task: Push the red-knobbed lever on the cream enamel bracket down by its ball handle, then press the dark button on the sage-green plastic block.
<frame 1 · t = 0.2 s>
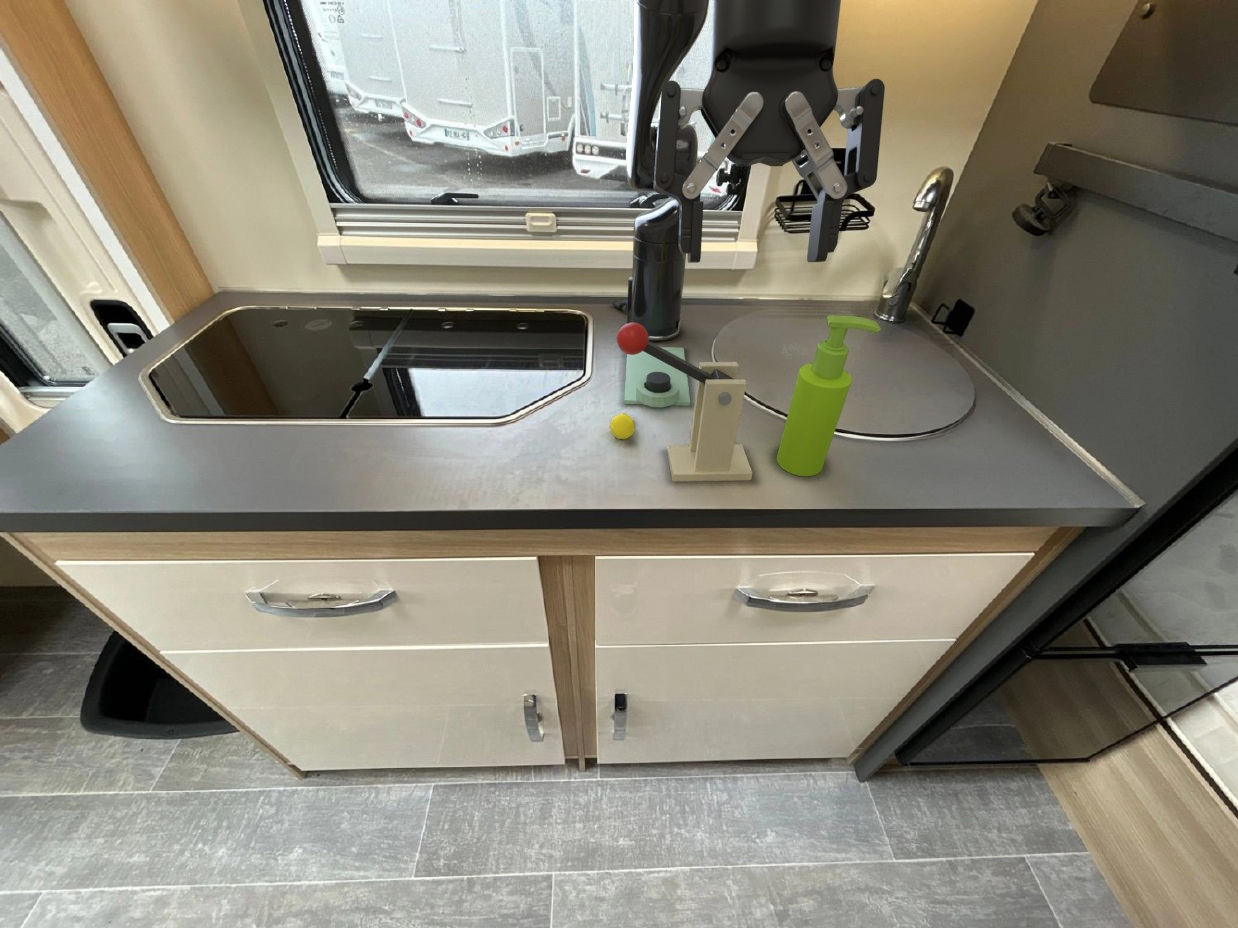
hand: (754, 262, 37), 31 cm above the worktop, tool tilted 20°, fingers open, 8 cm apart
yellow rounded piece: (623, 432, 74), on the worktop
lever: (676, 362, 59), point 15 cm above the worktop, hinge at 30.0°
button block: (656, 375, 87), on the worktop
button: (658, 382, 79), point 3 cm above the worktop, slide at 0.2 cm
soap dispenser: (803, 463, 69), on the worktop
bracket: (707, 466, 68), on the worktop
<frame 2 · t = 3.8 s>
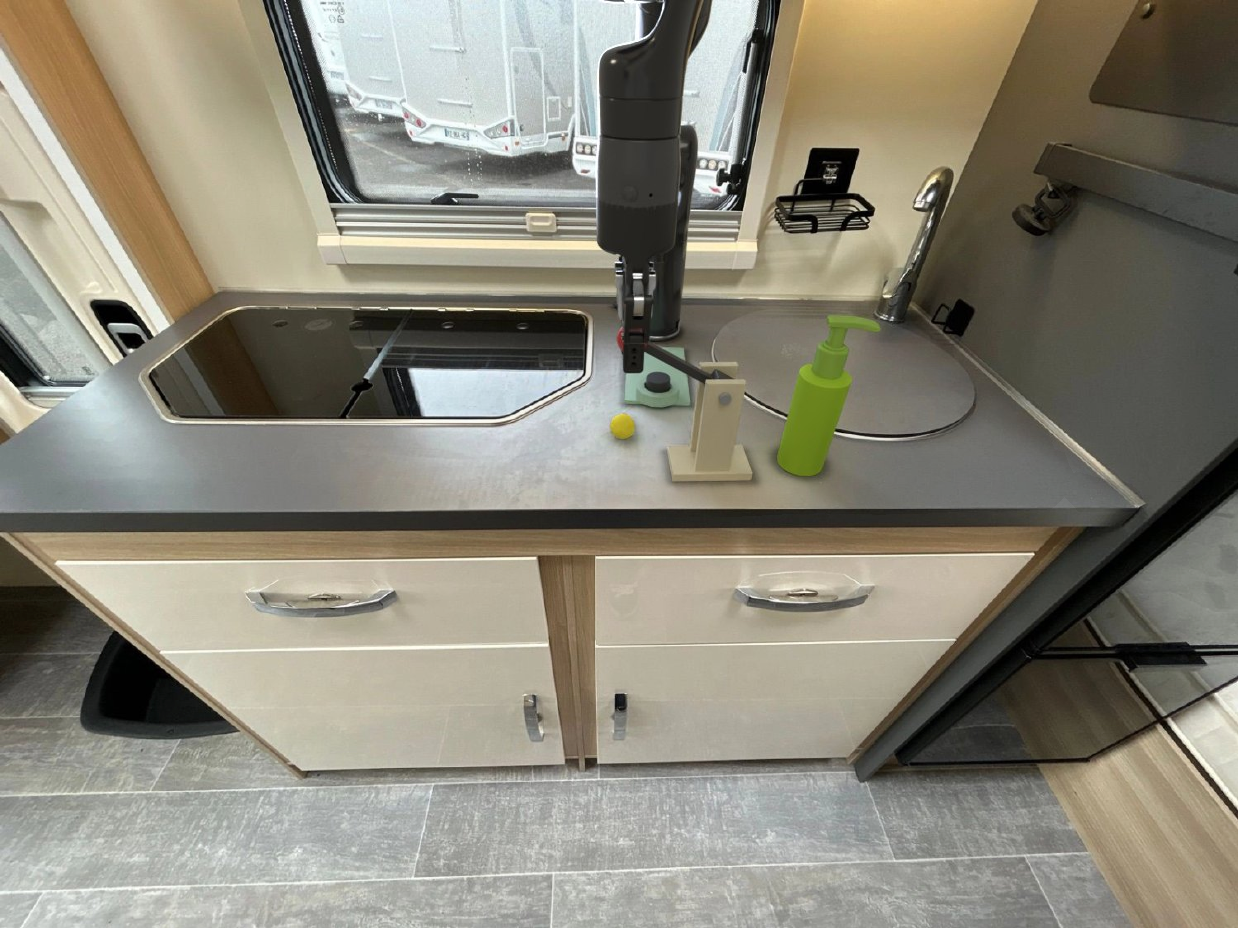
hand: (631, 362, 58), 15 cm above the worktop, tool pointing down, fingers closed on lever, 3 cm apart
lever: (676, 362, 59), point 15 cm above the worktop, hinge at 29.9°, touching gripper
everything else where it was.
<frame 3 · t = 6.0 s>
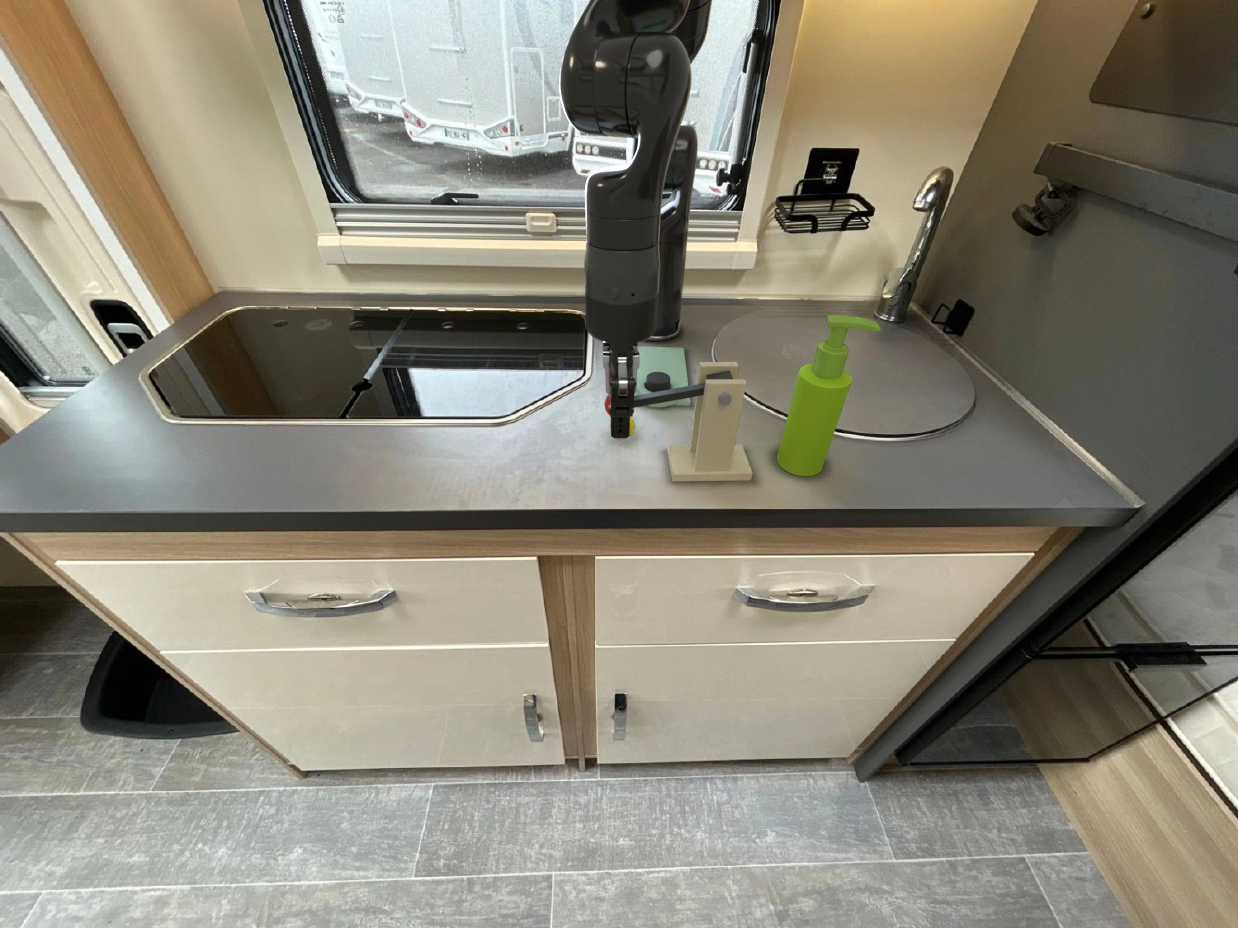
hand: (619, 426, 64), 7 cm above the worktop, tool pointing down, fingers closed on lever, 3 cm apart
lever: (667, 395, 61), point 11 cm above the worktop, hinge at -11.4°, touching gripper
everything else where it was.
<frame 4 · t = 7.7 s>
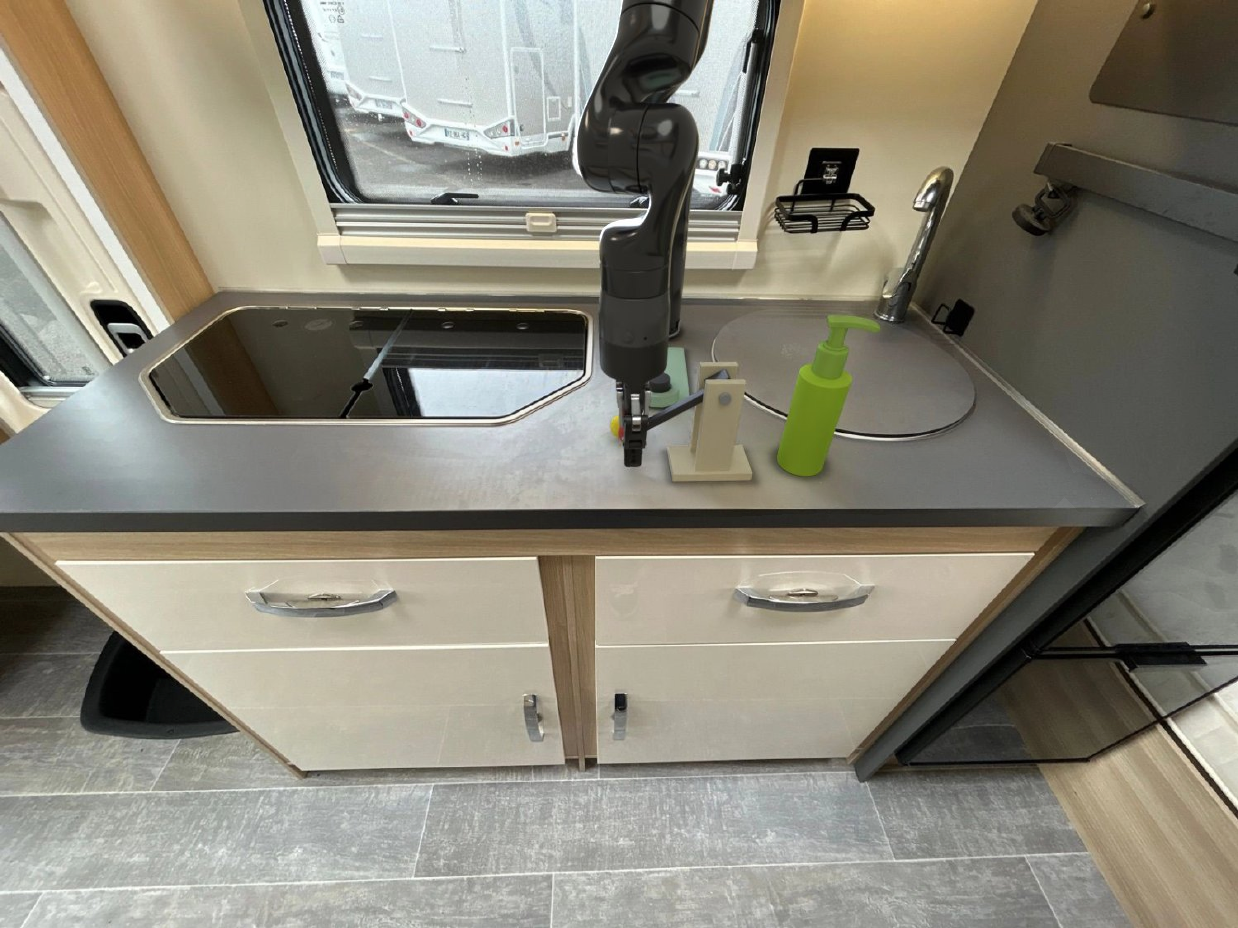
hand: (631, 454, 67), 2 cm above the worktop, tool pointing down, fingers closed on lever, 3 cm apart
lever: (673, 410, 63), point 9 cm above the worktop, hinge at -32.7°, touching gripper
everything else where it was.
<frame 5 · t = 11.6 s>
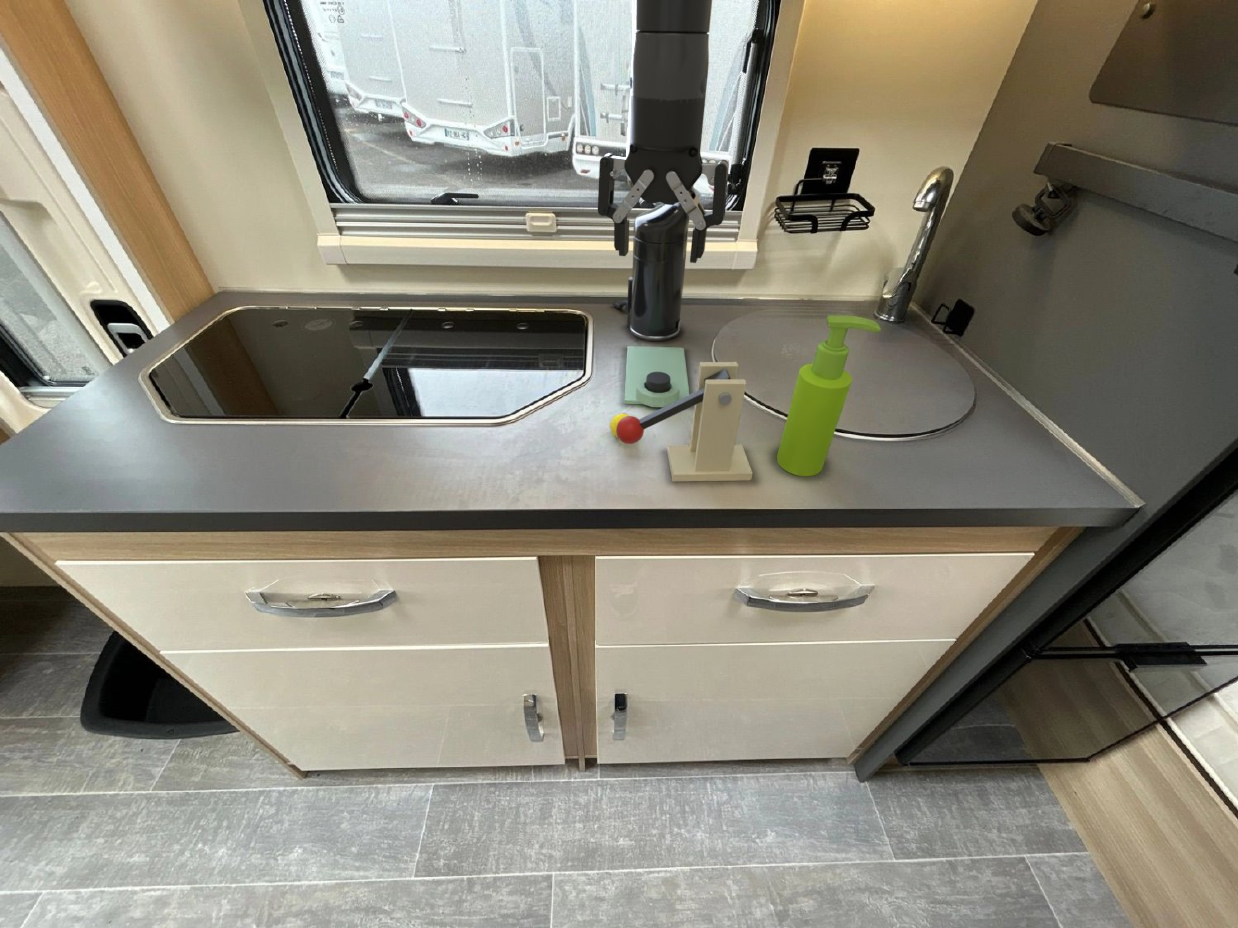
hand: (658, 257, 63), 23 cm above the worktop, tool pointing down, fingers open, 8 cm apart
lever: (672, 409, 62), point 9 cm above the worktop, hinge at -30.4°
everything else where it was.
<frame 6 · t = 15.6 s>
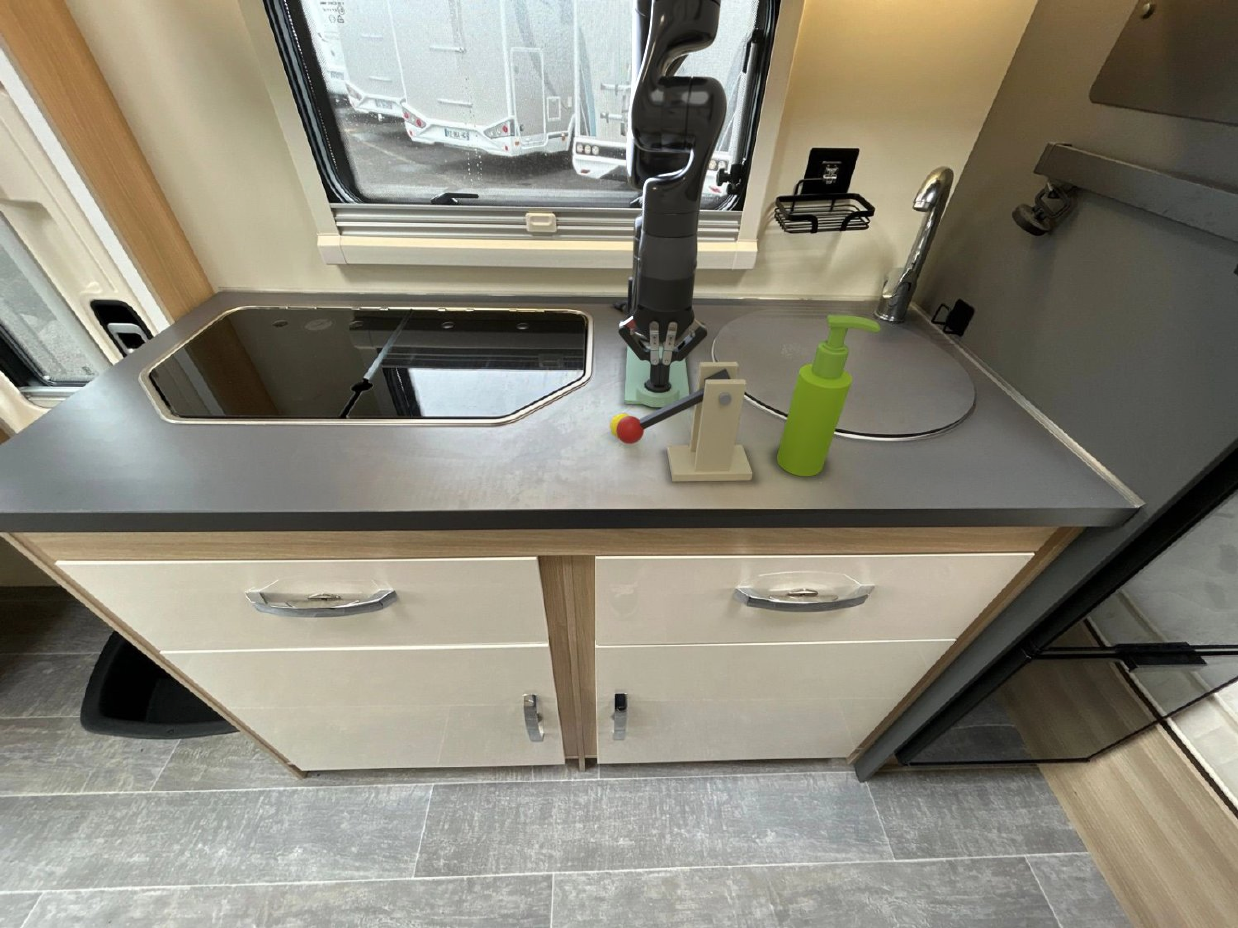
hand: (658, 383, 79), 3 cm above the worktop, tool pointing down, fingers closed
button: (657, 388, 79), point 2 cm above the worktop, slide at -0.9 cm, touching gripper
everything else where it was.
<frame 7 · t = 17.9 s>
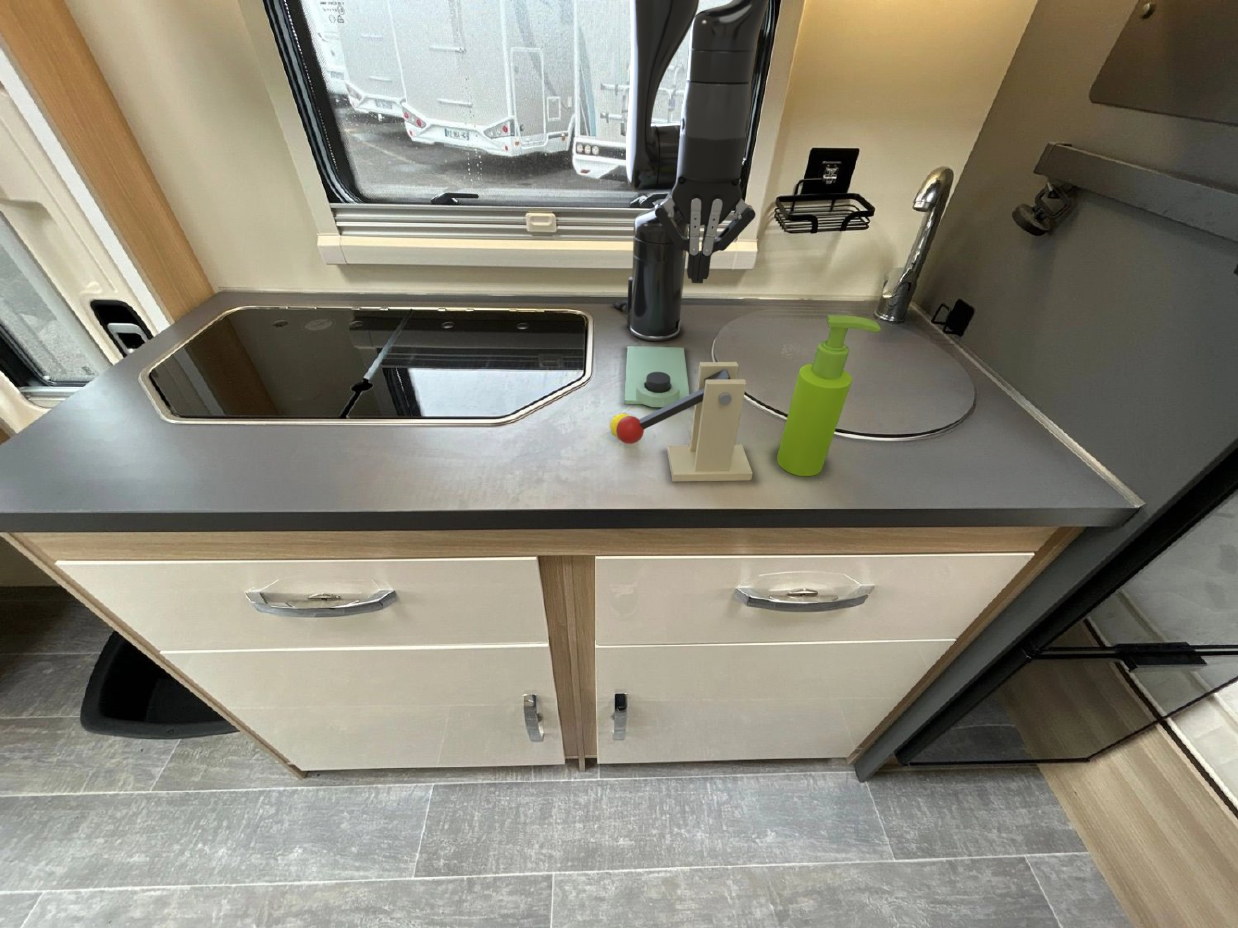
hand: (696, 281, 71), 18 cm above the worktop, tool pointing down, fingers closed
button: (658, 382, 79), point 3 cm above the worktop, slide at 0.1 cm
everything else where it was.
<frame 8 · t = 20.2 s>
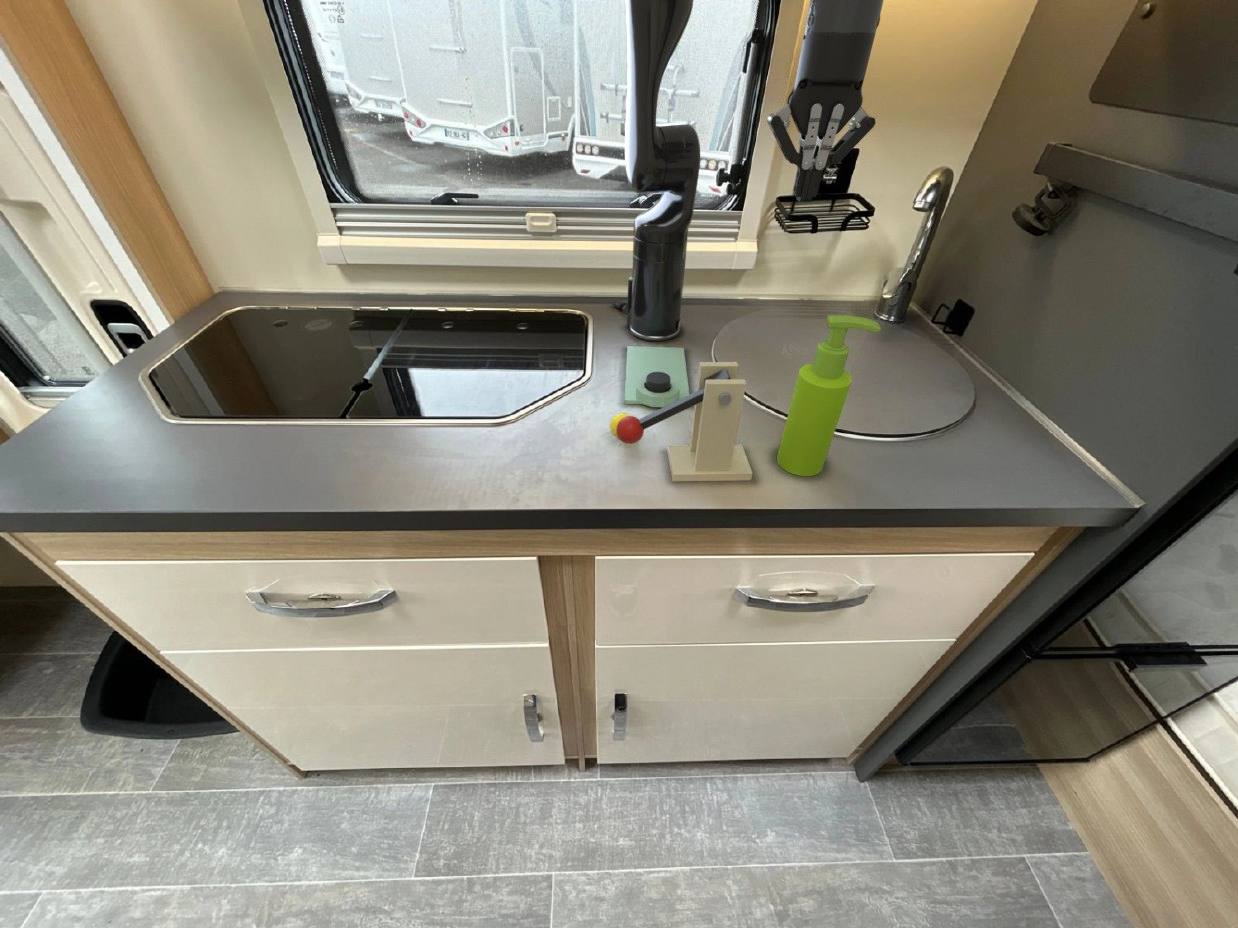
hand: (803, 200, 69), 27 cm above the worktop, tool pointing down, fingers closed
nothing on the worktop moved.
at the end: lever at -30° (first picture: +30°); button pushed in 1.2 cm at the most during the clip, back to where it started at the end; button slide at 0.1 cm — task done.
